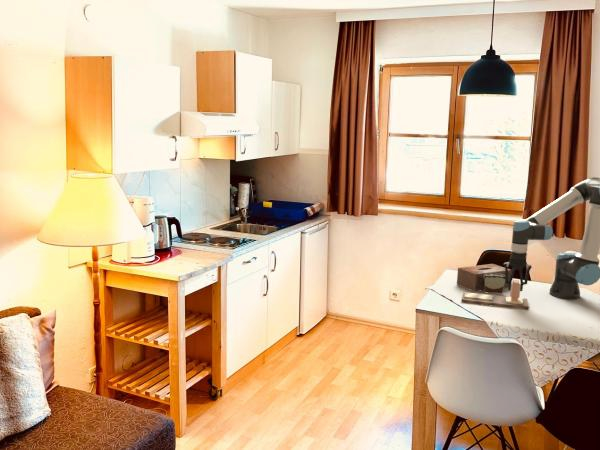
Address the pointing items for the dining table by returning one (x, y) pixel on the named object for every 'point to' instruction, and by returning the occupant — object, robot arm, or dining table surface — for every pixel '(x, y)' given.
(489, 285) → the food container
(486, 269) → the tissue box cover
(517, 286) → the stub
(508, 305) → the ticket board
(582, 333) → the dining table surface
